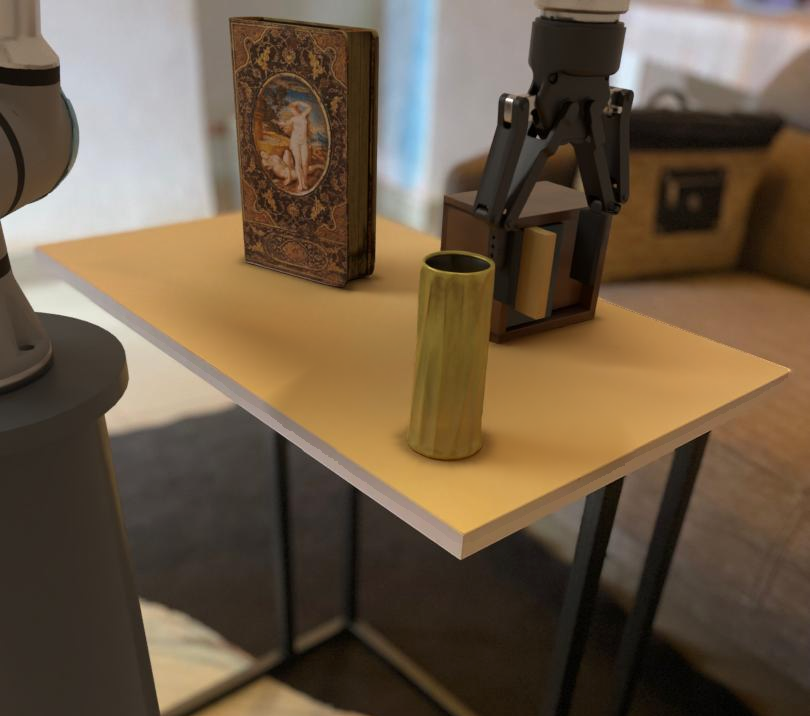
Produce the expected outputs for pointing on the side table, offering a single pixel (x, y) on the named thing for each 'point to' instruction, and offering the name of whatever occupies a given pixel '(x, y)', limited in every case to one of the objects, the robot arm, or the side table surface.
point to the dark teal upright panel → (536, 273)
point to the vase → (451, 354)
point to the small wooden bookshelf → (540, 209)
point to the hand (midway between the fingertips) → (542, 289)
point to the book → (307, 145)
